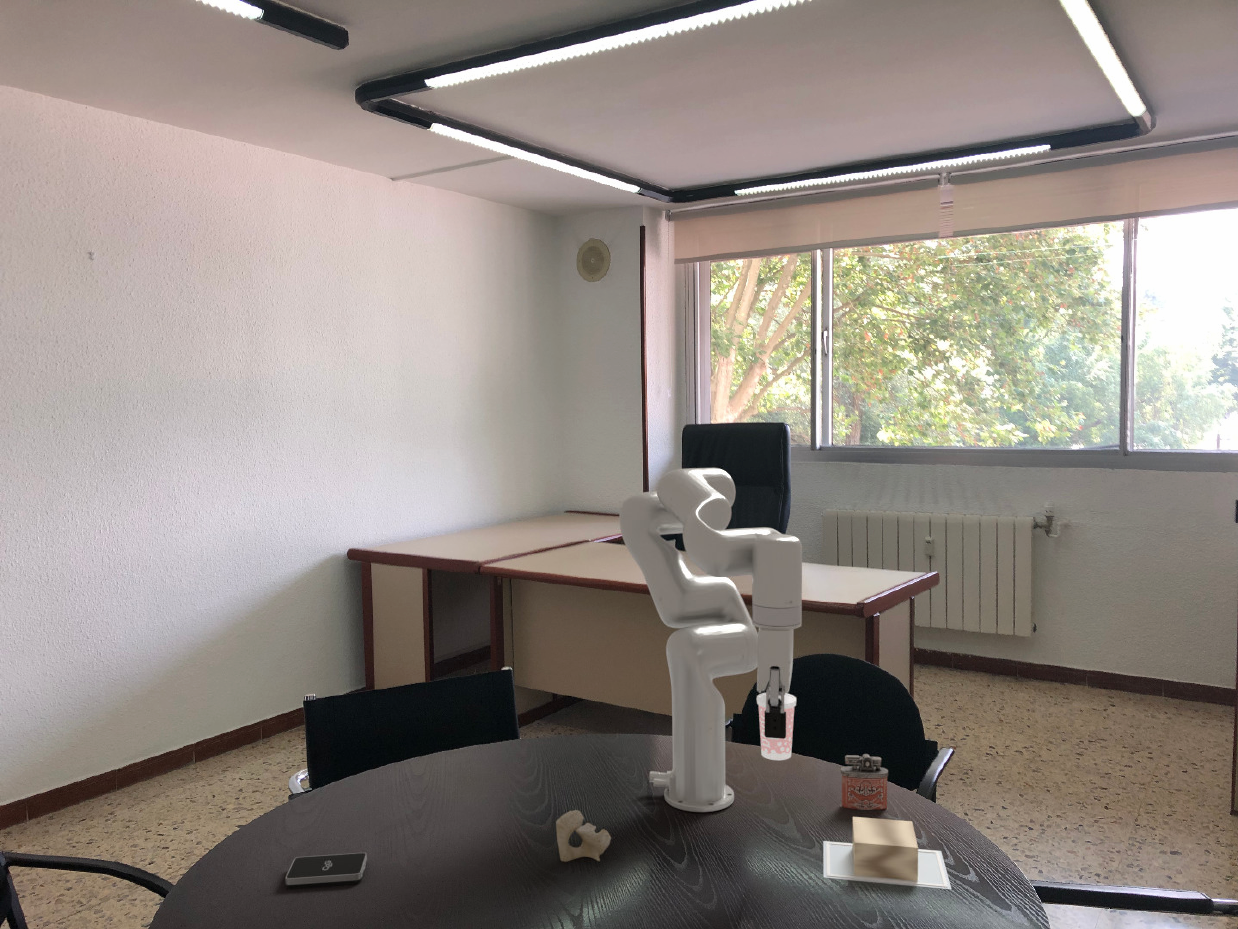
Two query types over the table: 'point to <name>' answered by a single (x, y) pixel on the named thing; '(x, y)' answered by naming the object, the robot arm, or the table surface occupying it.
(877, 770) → the lighter
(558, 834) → the bone
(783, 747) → the beverage cup
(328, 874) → the external hard drive
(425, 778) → the table surface
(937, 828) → the table surface
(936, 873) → the white tray
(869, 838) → the maple block
